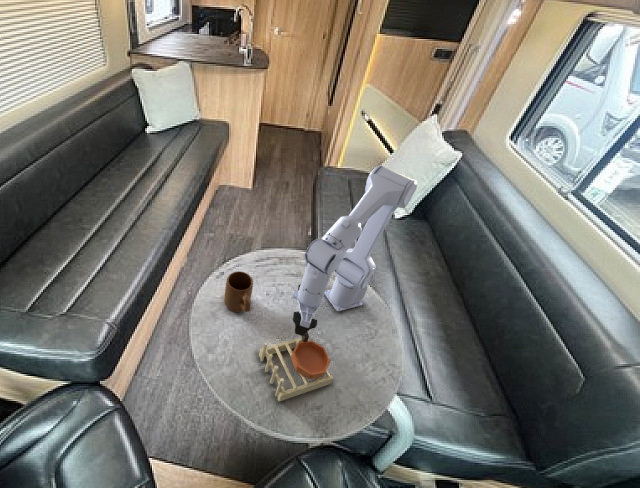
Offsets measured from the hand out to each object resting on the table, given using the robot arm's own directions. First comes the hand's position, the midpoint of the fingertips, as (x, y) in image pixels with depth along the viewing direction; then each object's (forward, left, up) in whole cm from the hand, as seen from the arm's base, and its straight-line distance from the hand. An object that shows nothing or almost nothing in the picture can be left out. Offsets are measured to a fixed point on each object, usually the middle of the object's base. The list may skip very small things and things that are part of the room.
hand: (301, 321), depth 82 cm
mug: (+11, -14, -8) cm, 19 cm away
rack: (+4, +7, -8) cm, 12 cm away
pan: (+1, +5, -5) cm, 7 cm away
